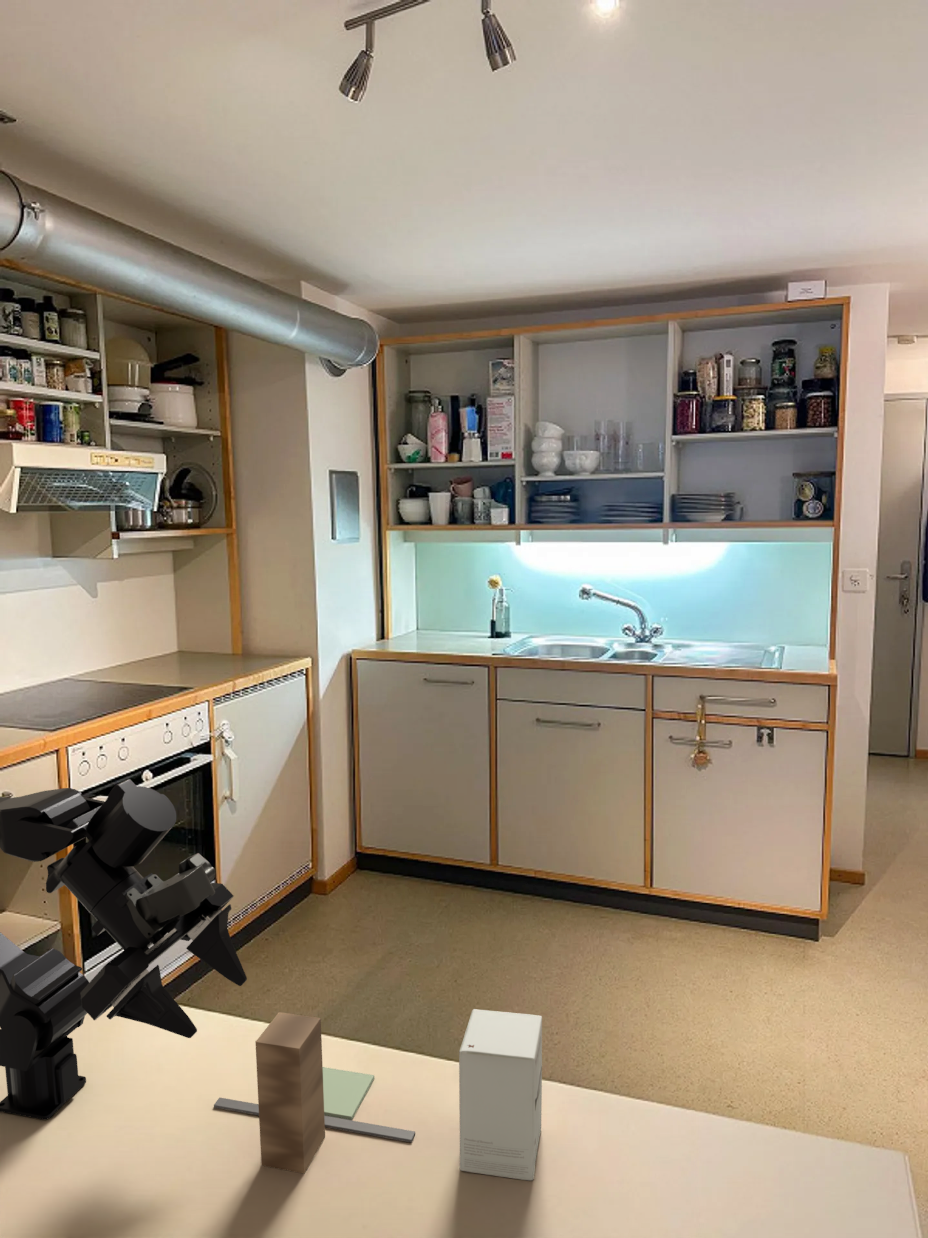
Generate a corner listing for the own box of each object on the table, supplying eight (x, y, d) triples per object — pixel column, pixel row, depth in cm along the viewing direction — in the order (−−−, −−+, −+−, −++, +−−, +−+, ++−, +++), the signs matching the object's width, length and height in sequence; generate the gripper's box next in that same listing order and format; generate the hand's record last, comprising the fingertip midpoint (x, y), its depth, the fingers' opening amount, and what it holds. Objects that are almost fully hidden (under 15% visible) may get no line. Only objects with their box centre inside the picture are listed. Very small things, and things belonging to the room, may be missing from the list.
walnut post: (261, 1165, 86) (255, 1042, 84) (284, 1130, 91) (279, 1012, 89) (304, 1174, 85) (299, 1048, 83) (325, 1137, 90) (320, 1018, 88)
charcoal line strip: (213, 1107, 94) (213, 1105, 94) (219, 1100, 95) (219, 1097, 95) (411, 1142, 89) (411, 1140, 89) (415, 1134, 90) (415, 1131, 90)
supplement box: (534, 1183, 83) (535, 1060, 82) (457, 1172, 85) (456, 1050, 83) (543, 1129, 91) (544, 1014, 89) (472, 1119, 92) (471, 1006, 90)
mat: (263, 1105, 94) (263, 1101, 94) (291, 1065, 101) (291, 1062, 101) (351, 1120, 92) (351, 1116, 92) (374, 1078, 99) (374, 1075, 98)
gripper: (94, 882, 78) (215, 1014, 77) (210, 810, 96) (310, 915, 94) (31, 957, 82) (145, 1085, 80) (154, 873, 99) (249, 976, 98)
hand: (220, 1007), depth 88 cm, fingers open, 9 cm apart
